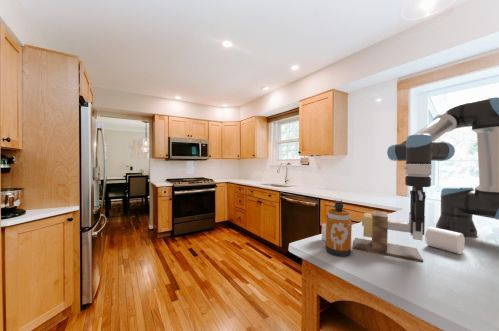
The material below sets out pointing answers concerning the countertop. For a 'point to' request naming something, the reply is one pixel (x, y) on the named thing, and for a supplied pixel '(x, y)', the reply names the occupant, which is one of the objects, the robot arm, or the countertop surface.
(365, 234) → the block
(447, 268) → the countertop surface
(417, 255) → the bracket
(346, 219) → the canister
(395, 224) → the shaft
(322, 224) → the medicine bottle
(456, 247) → the white rounded block
